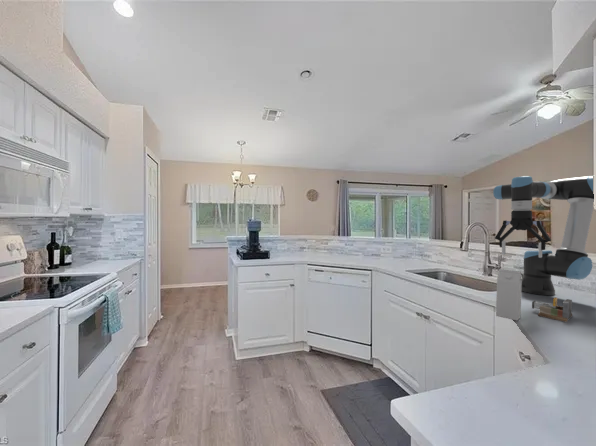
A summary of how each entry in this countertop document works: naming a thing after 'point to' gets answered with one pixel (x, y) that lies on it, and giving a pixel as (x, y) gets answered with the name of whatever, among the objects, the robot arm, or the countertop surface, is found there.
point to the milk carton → (508, 294)
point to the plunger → (538, 304)
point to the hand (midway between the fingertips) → (521, 255)
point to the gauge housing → (558, 311)
